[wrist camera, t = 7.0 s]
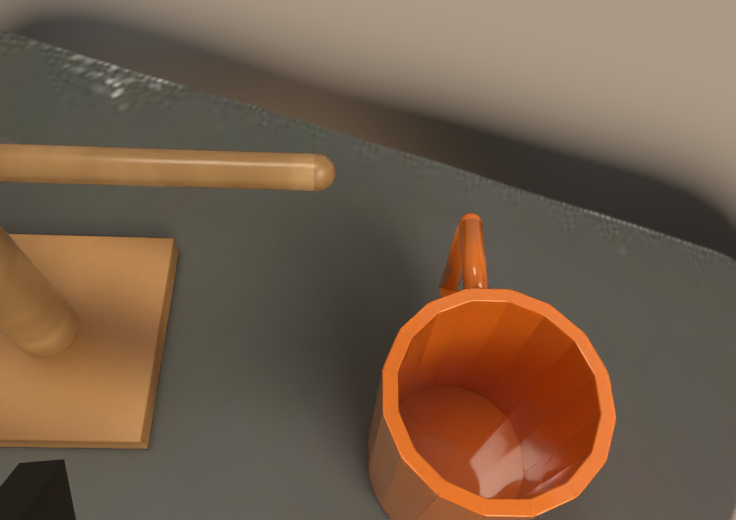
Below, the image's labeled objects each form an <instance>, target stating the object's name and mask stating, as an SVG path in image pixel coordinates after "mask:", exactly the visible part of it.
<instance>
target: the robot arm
mask: <svg viewBox="0 0 736 520" xmlns="http://www.w3.org/2000/svg"><path fill="white" fill-rule="evenodd" d="M0 520H76V518H75V513H74V508H73V503H72V498H71V493H70V487H69V482H68V477H67V472H66V467H65V462H64V459H63V460H51V461H39V462H27V463H19V464H18V465H17V467H16V468H15V469H14V470H13V472H12V473H11V474H10V475H9V477H8V478H7V479H6V480H5V482H4V483H3V484H2V485H1V487H0Z"/></svg>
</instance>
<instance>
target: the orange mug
mask: <svg viewBox="0 0 736 520" xmlns="http://www.w3.org/2000/svg"><path fill="white" fill-rule="evenodd" d="M462 278H463V289H464V290H461V291H459V286H460V284H461V281H462ZM439 292H440V298H439V299H437V300H434V301H431V302H430V303H427V304H426V305H425V306H424V307H423V308H422V309H421V310H420V311H419V312H418V313H417V314H416V315H414V316H413V317H412V318H411V319H410V320H409V321H408V322H407V323H406V324H405V325H404V326H403V327H402V328H400V330H399V331H398V333H397V336H396V338H395V340H394V343H393V345H392V347H391V350H390V352H389V354H388V357H387V359H386V361H385V364H384V366H383V369H382V374H381V379H380V384H379V389H378V393H377V398H376V403H375V408H374V413H373V418H372V423H371V428H370V433H369V438H368V474H369V477H370V481H371V484H372V487H373V490H374V493H375V495H376V497H377V499H378V501H379V503H380V505H381V506H382V508H383V509H384V511H385V512H386V513H387V515H388V516H389V517H390V518H391V519H392V520H532V519H535V518H537V517H539V516H541V515H543V514H545V513H547V512H549V511H551V510H553V509H555V508H557V507H559V506H561V505H563V504H565V503H567V502H569V501H571V500H573V499H575V498H576V497H578V496H579V495H580V494H581V493H582V491H583V490H584V489H585V488H586V486H587V485H588V484H589V483H590V481H591V480H592V479H593V478H594V476H595V475H596V474H597V473H598V472H599V470H600V469H601V468H602V467H603V465H604V464H605V462H606V461H607V457H608V452H609V448H610V444H611V440H612V436H613V431H614V427H615V423H616V413H615V407H614V401H613V395H612V390H611V384H610V378H609V374H608V371H607V369H606V368H605V366H604V364H603V363H602V361H601V359H600V358H599V356H598V354H597V353H596V351H595V349H594V348H593V346H592V344H591V343H590V341H589V339H588V337H587V336H586V335H584V332H582V331H581V330H580V329H579V328H578V327H576V326H575V325H574V324H573V323H572V322H571V321H569V320H568V319H567V318H566V317H565V316H563V315H562V314H561V313H560V312H559V311H557V310H556V309H555V308H554V307H553V306H550V304H547V303H545V302H542V301H540V300H537V299H534V298H532V297H529V296H527V295H524V294H522V293H519V292H516V291H514V290H509V289H488V279H487V268H486V257H485V246H484V235H483V224H482V220H481V218H480V217H479V216H478V215H477V214H475V213H467V214H465V215H463V216H462V217H461V219H460V221H459V224H458V227H457V230H456V233H455V237H454V240H453V243H452V246H451V249H450V252H449V255H448V258H447V261H446V265H445V268H444V271H443V274H442V277H441V280H440V283H439Z"/></svg>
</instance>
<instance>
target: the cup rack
mask: <svg viewBox="0 0 736 520" xmlns="http://www.w3.org/2000/svg"><path fill="white" fill-rule="evenodd" d="M334 177H335V168H334V165H333V163H332V161H331V160H330V159H329V158H328V157H326V156H324V155H322V154H308V153H278V152H247V151H216V150H185V149H154V148H123V147H92V146H61V145H30V144H0V181H3V182H36V183H69V184H102V185H135V186H169V187H202V188H235V189H268V190H302V191H321V190H324V189H326V188H328V187H329V186H330V185H331V184H332V182H333V180H334ZM178 254H179V250H178V248H177V245H176V243H175V241H174V239H173V238H140V237H103V236H66V235H29V234H8V233H7V232H6V231H5V230H4V229H3V228H2V226H1V225H0V447H67V448H136V449H146V448H148V444H149V437H150V431H151V425H152V418H153V412H154V406H155V399H156V393H157V387H158V380H159V374H160V368H161V362H162V355H163V349H164V343H165V336H166V330H167V324H168V317H169V311H170V305H171V298H172V292H173V286H174V279H175V273H176V267H177V260H178Z"/></svg>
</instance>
